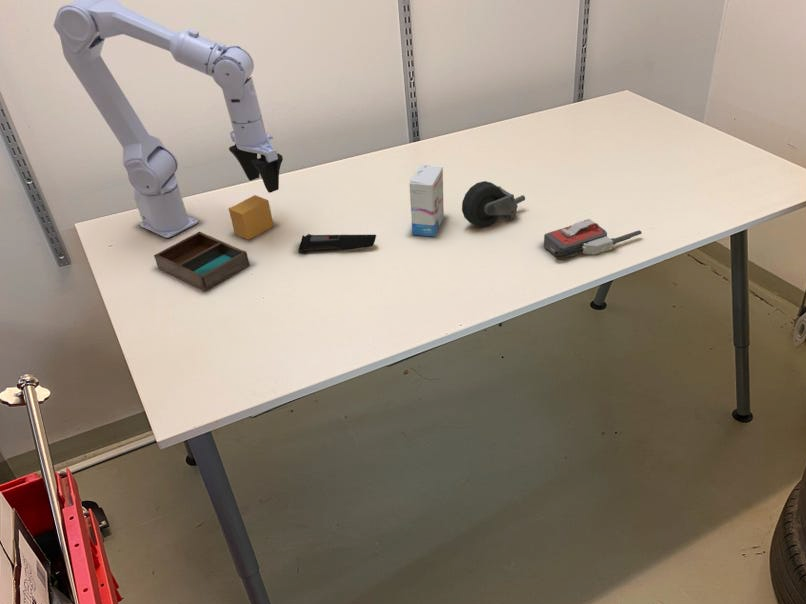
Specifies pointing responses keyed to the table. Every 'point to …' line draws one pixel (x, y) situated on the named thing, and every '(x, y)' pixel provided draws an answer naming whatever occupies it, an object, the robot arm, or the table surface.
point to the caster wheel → (488, 204)
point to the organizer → (202, 260)
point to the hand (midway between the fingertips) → (263, 184)
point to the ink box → (426, 200)
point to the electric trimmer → (336, 242)
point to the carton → (251, 217)
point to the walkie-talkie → (581, 240)
